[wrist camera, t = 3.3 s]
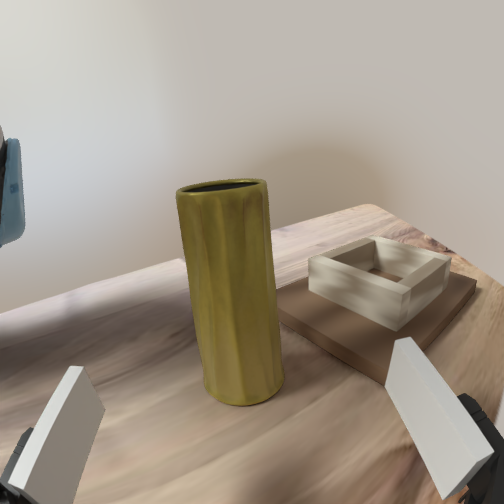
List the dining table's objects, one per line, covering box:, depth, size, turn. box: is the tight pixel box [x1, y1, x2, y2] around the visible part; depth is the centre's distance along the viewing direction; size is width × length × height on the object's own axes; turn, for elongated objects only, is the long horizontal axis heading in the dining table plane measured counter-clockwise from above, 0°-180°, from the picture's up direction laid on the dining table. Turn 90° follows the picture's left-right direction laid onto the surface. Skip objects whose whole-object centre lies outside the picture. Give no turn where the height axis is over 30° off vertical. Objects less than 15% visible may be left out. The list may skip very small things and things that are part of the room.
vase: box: [176, 179, 284, 406], centre depth 20 cm, size 6×6×14 cm
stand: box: [276, 235, 477, 386], centre depth 29 cm, size 16×20×5 cm
